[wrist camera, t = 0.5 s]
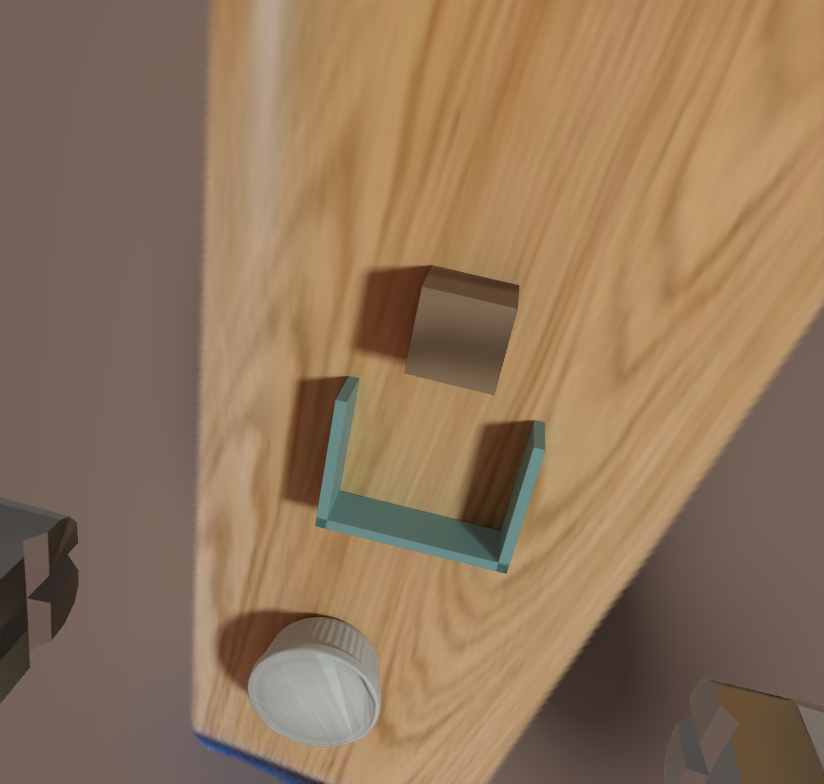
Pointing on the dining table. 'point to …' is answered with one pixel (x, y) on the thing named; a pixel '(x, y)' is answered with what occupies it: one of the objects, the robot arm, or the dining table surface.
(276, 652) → the ramekin
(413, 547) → the box
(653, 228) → the dining table surface
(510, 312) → the walnut tile block
